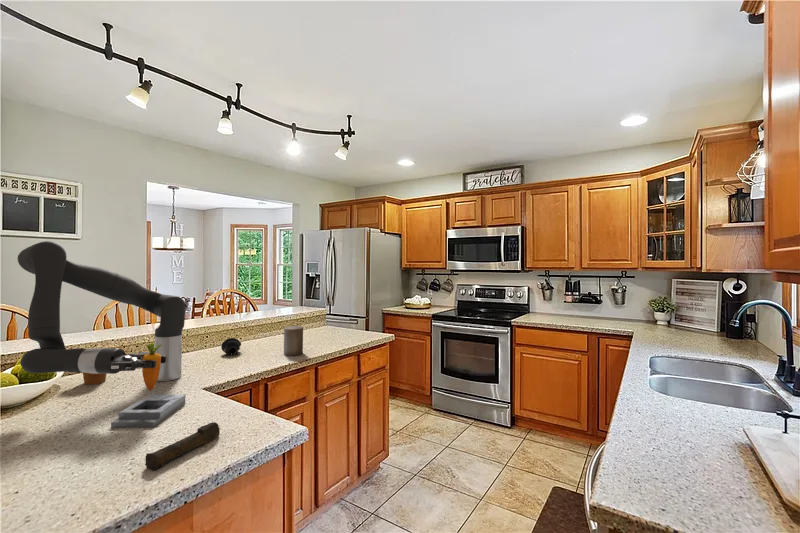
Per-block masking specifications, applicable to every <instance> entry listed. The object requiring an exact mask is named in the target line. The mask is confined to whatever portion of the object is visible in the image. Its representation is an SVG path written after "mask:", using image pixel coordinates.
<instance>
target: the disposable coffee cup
mask: <svg viewBox="0 0 800 533" xmlns="http://www.w3.org/2000/svg"><path fill="white" fill-rule="evenodd" d="M82 377H83V384H84V385H89V386H90V385H92V386H93V385H99V384H102V383H104V382H106V379H107V374H93V373H84V372H82Z"/></svg>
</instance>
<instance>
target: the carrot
mask: <svg viewBox="0 0 800 533" xmlns="http://www.w3.org/2000/svg"><path fill="white" fill-rule="evenodd" d="M160 346H162V345H161V344H160V345H158V346H157V347H156V348H155V341H153V342H151V343H150V344H149V343H148V344H147V345H146V348H147V350H148V353H149V354H146V355H144V357H143V359H142V360H156V367H155V368H141V369H142V370H141V371H142V378H143V382H144V385H145V386H146V388H147V389H148V391H149V392H152V391H153V389H154V388H155V387H156V384H157V382H158V381H157V380H158V376H159V372H160V365H161V355H160V354H158V353H155V351H156V350H157V349H158V348H159V347H160Z"/></svg>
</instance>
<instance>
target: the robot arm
mask: <svg viewBox="0 0 800 533" xmlns="http://www.w3.org/2000/svg"><path fill="white" fill-rule="evenodd" d="M17 263H18V265H19V266H20V267H21V269H23V270H24V271H26V272H28V273H30V274H32V275H35V276H34V277H35V281H34V282H35V285H34V290H33V294H32V298H31V301H30V305H29V309H28V314H27V315H28V316H27V329H28V330H27V336H28V338H29V340H32V341H34V342H37V343H38V344H39V345H38V346H39V348H38V347H37V348H34V349H33V348H32V349H31V350H28V351H27V352H25V353H24V354H23V355H22V357H21V358H20V362H19V363H20V367H21V368H22V370H24V371H25V372H28V373H31V374H47V373H48V374H49V373H50V374H51V373H64V372H65V373H83V372H84V373H93V374H106V375H107V374H109V375H111V374H113V375H116V374H117V373H120V372H129V371H130V372H134V371H136V370H140V369H142V368H155V367H156V360H142V359H143V357H144V355H146V354H149V351H148V352H145V351H139V352H138V353H135V352H133V353H132V352H131V353H127V354H126V352H125V350H124V349H123V348H118V347H117V348H115V347H96V348H95V347H91V348H68V349H66V345H65V343H64V338H63V336H62V334H61V313H60V312H61V293H62V287H63V286H62V285H63V283H66V284H69V285H72V286H74V287H77V288H79V289H81V290H85V291H87V292H89V293H93V294H95V295H98V296H101V297H103V298H106V299H109V300H112V301H115V302H119V303H123V304H126V305H132V306H135V307H138V308H141V309H142V310H144V311H147V312H148V313H151V314H153V315H155V316H157V317H159V318H160V321H159V325H158V327H156V329H155V330H154V343H155V344H154V348H156V347H157V346H158V345H160V344H161V345H162V346H160V347H159V348H158V349H157V350H156V351H155V353H158V354H160V355H161V365H160V372H159V376H158V380H157V382H169V381H174V380H178V379H180V378H181V377H182V363H183V362H182V357H183V353H182V348H183V347H182V343H183V342H182V341H183V340H182V337H183V329H184V327H185V318H186V303H185V301H184V299H183V298H181V297H180V296H178V295H171V294H164V293H159V292H157V291H154V290H150V289H147V288H146V287H143V286H142V285H141V284H140V283H138V282H137V281H135V280H133V279H132V278H130V277H127V276H126V275H124V274H121V273H119V272H116V271H113V270H109V269H107V268H101V267H97V266H90V265H84V264H81V263H80V264H79V263H77V262H74V261H71V260H69V259H67V253H66V250H65V248H64V247H63V246H62V245H60V243H56V242H54V241H49V240H47V241H40V242H37V243H35V244H32V245H30V246H28V247H25V248H24V249H22V250H21V251H20V252H19V253H18V254H17Z"/></svg>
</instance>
